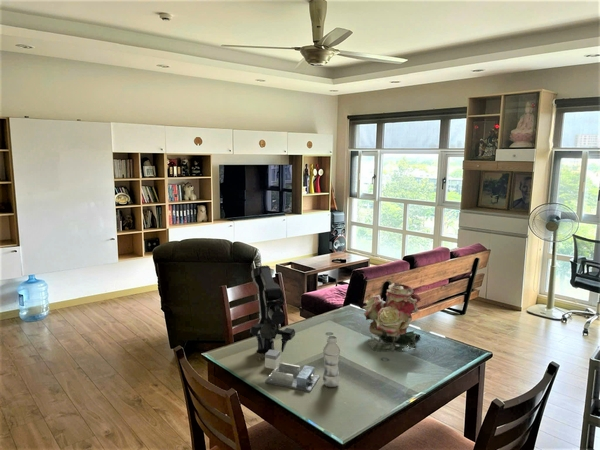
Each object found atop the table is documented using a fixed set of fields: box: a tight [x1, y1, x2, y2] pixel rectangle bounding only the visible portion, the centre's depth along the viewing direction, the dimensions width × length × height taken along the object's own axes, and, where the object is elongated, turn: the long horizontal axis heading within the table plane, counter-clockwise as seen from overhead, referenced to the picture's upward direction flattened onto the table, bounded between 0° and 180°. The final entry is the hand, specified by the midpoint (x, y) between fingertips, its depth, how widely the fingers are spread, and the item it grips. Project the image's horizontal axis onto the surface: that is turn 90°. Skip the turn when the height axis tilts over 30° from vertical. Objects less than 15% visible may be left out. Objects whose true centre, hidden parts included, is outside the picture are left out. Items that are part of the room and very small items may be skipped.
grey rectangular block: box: [264, 349, 281, 370], centre depth 189 cm, size 5×5×6 cm
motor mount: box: [265, 361, 321, 393], centre depth 177 cm, size 19×12×5 cm, turn 70°
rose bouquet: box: [361, 282, 422, 353], centre depth 210 cm, size 26×29×30 cm
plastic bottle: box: [322, 335, 341, 388], centre depth 172 cm, size 6×7×20 cm
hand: (272, 349), depth 188 cm, fingers open, 9 cm apart
